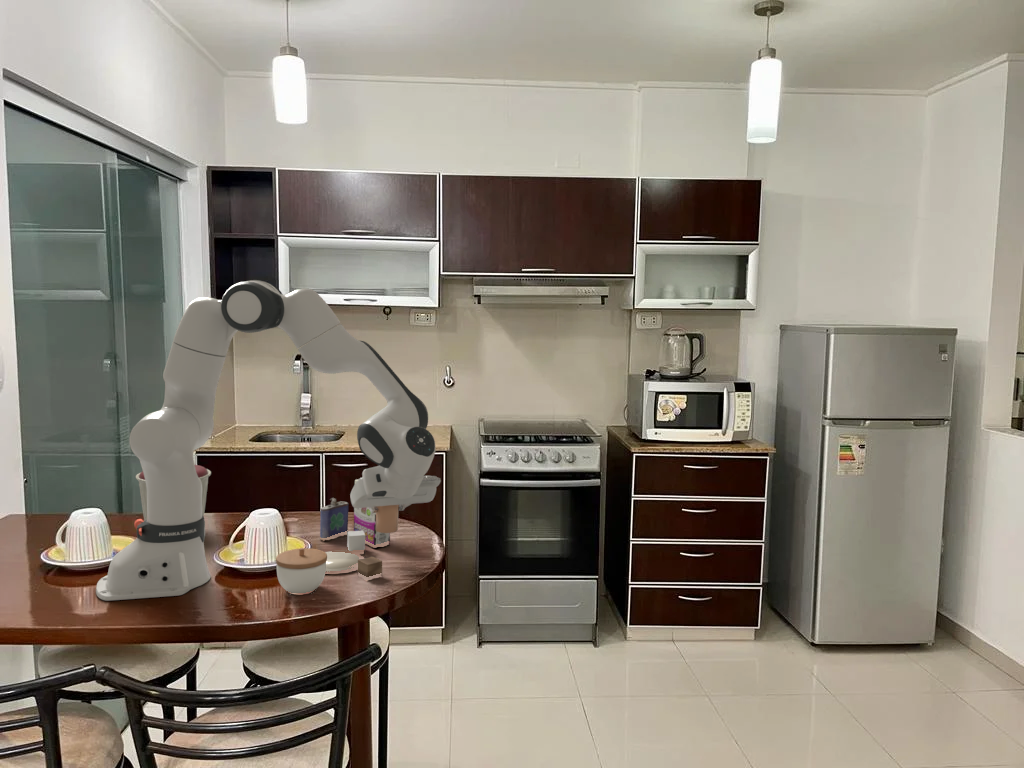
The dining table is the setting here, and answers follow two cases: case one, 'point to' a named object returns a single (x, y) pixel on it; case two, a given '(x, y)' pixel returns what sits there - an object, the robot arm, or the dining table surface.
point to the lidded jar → (301, 569)
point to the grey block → (355, 540)
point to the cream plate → (340, 561)
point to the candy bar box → (368, 525)
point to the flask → (334, 518)
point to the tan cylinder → (387, 519)
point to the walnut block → (369, 566)
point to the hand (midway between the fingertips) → (386, 509)
